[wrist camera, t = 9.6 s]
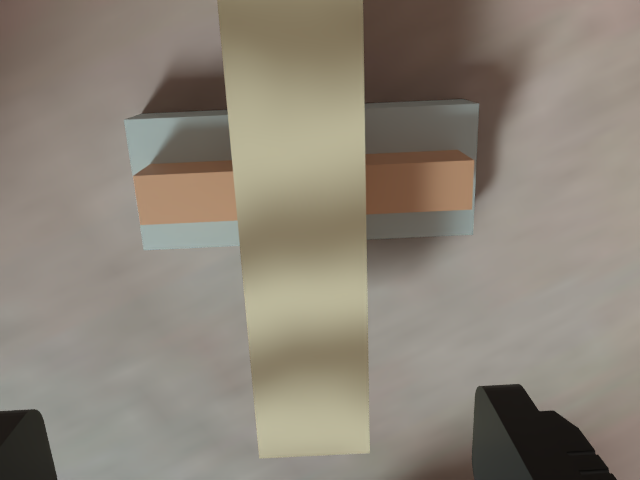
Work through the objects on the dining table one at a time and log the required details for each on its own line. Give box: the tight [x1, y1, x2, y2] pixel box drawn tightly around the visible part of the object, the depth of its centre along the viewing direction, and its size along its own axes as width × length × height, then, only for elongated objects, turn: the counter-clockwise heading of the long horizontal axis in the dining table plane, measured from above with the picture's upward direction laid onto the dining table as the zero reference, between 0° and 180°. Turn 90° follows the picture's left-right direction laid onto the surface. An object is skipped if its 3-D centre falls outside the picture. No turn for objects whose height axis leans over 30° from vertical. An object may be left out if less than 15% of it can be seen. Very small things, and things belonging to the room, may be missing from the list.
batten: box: [217, 0, 370, 458], centre depth 24 cm, size 22×5×5 cm, turn 2°
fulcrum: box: [124, 99, 479, 250], centre depth 29 cm, size 18×7×6 cm, turn 92°
